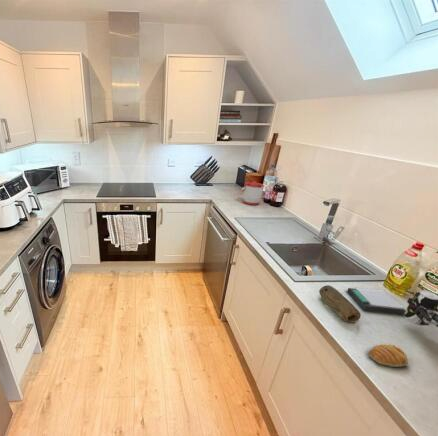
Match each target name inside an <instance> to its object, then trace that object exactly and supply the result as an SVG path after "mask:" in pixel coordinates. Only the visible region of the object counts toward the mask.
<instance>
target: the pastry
mask: <svg viewBox="0 0 438 436" xmlns="http://www.w3.org/2000/svg"><path fill="white" fill-rule="evenodd" d="M368 355H369V357H370V358H371V359H372V360H373V361H375V362H376V363H378V364H379V365H383V366H388V367H391V368H394V367H395V368H398V367H405V366H408V365H410V363H409V359H408V357H407V353H406V352H405V351H404V350H403V349H401V348H400V347H398V346H396V345H394V344H379V345H375V346H374V347H373V348H372V349H371V350H369V354H368Z"/></svg>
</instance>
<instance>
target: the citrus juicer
mask: <svg viewBox="0 0 438 436" xmlns="http://www.w3.org/2000/svg"><path fill="white" fill-rule="evenodd" d="M264 188H265V185H264V184H263V183H259V182H257V181H256V180H254V181H251V182H250V181H249V182H248V181H247V182H245V183H244V186H242V188H241V191H243V193H242V198H243V199H242V200H243V203H244V204H246V205H249V206H257V205H259V203H260V201H261V200H262V197H263V192H264Z"/></svg>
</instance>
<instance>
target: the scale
mask: <svg viewBox="0 0 438 436" xmlns="http://www.w3.org/2000/svg"><path fill="white" fill-rule="evenodd" d="M346 293H347V294H348V295H349V297H351V299H352V300H353V301H354V302H355V303H356V304H357V305H358V307H360V308H361V310H362V311H364V312H372V313H380V314H381V313H382V314H391V315H398V316H404V313H405V311H406V309H405V308H404V306H402V305H401V304H400V303H399V302H398V301H397V300H396V299H394V298H393V296H392V295H390V294H389V293H388V292H387V291H386V290H382V289H370V288H361V287H355V288H354V287H353V288H352V287H348V288H347V291H346Z"/></svg>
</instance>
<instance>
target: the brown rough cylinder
mask: <svg viewBox="0 0 438 436" xmlns="http://www.w3.org/2000/svg"><path fill="white" fill-rule="evenodd" d="M318 293H319V296H320V297H321V299H322V300H323V301H324V302H325V303H326V305H328V307H329V308H330V309H331V310H332V311H333V313H335V314H336V315H337V316H338V317H339V318H340V319H342V320H344V322H349V323H355V322H358V321H359V320H360V319H361V317H362V315H361V313H360V311H359V310H358V308H357V307H356V306H355V305H354V304H353V303H351V301H350V300H348V298H346V297H345V296H344V295H343V294H342V293H341V292H340V291H339V290H338V289H336V288H335V287H334V286H331V285H328V284H326V285H323V286H322V287H321V288H320V289H319V291H318Z"/></svg>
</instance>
